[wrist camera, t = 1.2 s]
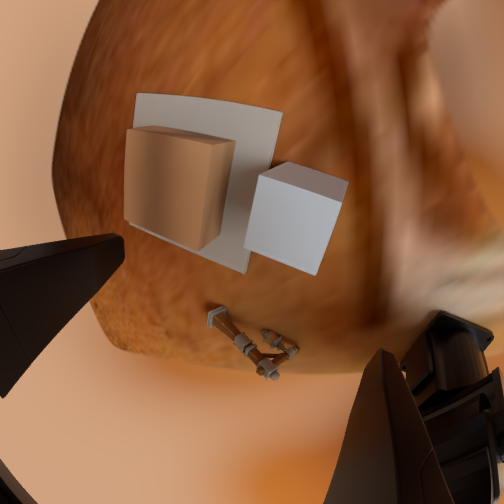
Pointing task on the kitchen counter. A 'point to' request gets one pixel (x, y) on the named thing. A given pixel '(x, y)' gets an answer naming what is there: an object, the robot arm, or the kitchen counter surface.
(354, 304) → the kitchen counter surface
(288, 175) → the grey block
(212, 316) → the wooden post with brackets
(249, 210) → the build mat
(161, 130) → the plinth
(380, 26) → the kitchen counter surface
